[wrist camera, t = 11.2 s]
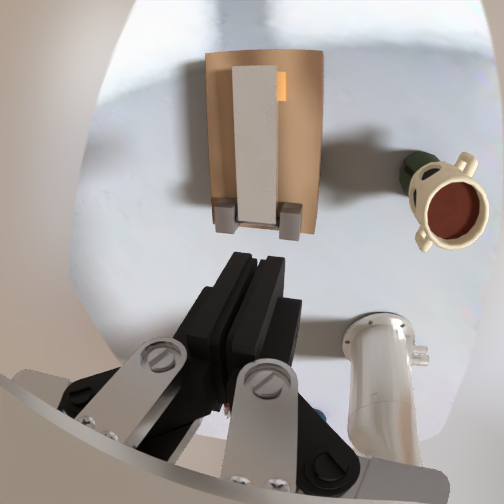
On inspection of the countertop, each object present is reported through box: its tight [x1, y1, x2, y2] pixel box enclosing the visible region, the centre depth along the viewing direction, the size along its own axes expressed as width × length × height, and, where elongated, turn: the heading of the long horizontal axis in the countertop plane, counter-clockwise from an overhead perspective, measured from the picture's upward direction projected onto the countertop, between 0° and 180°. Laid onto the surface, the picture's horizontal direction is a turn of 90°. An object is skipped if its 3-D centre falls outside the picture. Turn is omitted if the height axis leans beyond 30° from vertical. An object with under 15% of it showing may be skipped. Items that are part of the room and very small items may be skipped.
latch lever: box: [232, 65, 280, 227], centre depth 28 cm, size 5×17×1 cm, turn 0°
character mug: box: [400, 152, 489, 252], centre depth 27 cm, size 11×7×13 cm, turn 161°
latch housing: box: [205, 49, 324, 241], centre depth 32 cm, size 12×20×9 cm, turn 0°
